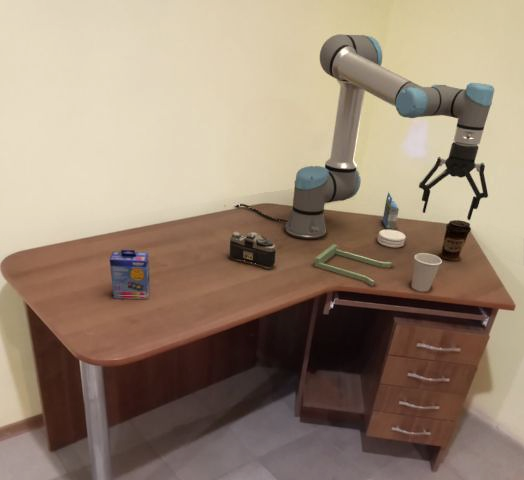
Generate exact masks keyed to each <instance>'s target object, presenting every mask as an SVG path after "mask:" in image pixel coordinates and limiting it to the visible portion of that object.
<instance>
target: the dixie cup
mask: <svg viewBox="0 0 524 480" xmlns="http://www.w3.org/2000/svg"><path fill="white" fill-rule="evenodd" d="M413 257H414V263H413V269H412V279H411V288H412V289H413V290H415V291H417V292H421V293H422V292H429V291H430V289H431V287H432V284H433V282H434V280H435V277H436V276H437V274H438V271H439V268H440V267H441V264H442V263H443V260H442V259H441V257H440V256H438V255H435V254H432V253H428V252H419V253H416V254H415V255H414V256H413Z"/></svg>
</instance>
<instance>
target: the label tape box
mask: <svg viewBox="0 0 524 480" xmlns="http://www.w3.org/2000/svg"><path fill="white" fill-rule="evenodd" d="M399 210H400V209H399V207H398V205H397V204H396V202H395V201H394V200H393V197H392V195H391V193H390V192H389V191H388V192H387V194H386V200H385V204H384V210H383V215H382V223H383V225H384V227H385V229H386V230H396V227H397V221H398V215H399Z"/></svg>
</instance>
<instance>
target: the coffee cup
mask: <svg viewBox="0 0 524 480" xmlns="http://www.w3.org/2000/svg"><path fill="white" fill-rule="evenodd" d="M445 228H446V229H445V233H444V238H443V243H442V248H441V254H440V258H442V259H445V260H448V261H459V259H460V255H461V252H462V250H463V248H464V246H465V244H466V241H467V238H468V235H469V233H470V232H471V231H472V228H471V224H470V223H469V222H467V221H465V220H461V219H460V220H459V219H453V220H450V221H449V222H448V223H447V224H446V225H445Z"/></svg>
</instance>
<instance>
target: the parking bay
mask: <svg viewBox="0 0 524 480" xmlns="http://www.w3.org/2000/svg"><path fill="white" fill-rule="evenodd" d="M335 255H338V256H341V257H345V258H348V259H351V260H355V261H358V262H362V263H365V264H369V265H372V266H376V267H379V268H389V269H390V268H391V267H392V262H391V261H381V260H376V259H373V258H369V257H367V256H363V255H359V254H355V253H351V252H348V251H344V250H341V249H338V244H335V243H333V244H332V245H330V246H329V247H328V248H327V249H325V250H324V251H322V252H321V253H319V254H318V255H317V256H316V257H315V259H314V265H313V266H314V267H316V268H319V269H322V270H326V271H329V272H333V273H335V274H340V275H342V276H346V277H349V278H352V279H356V280H359V281H362V282H365V283H366V284H368V285H369V286H371V287H373V286H374V285H375V280H373V279H372V278H370V277H369V276H367V275H363V274H361V273H358V272H354V271H351V270H347V269H344V268H340V267H337V266H333V265H330V264H328V263H325V262H327V261H328V260H330V259H331V258H332V257H333V256H335Z"/></svg>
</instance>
